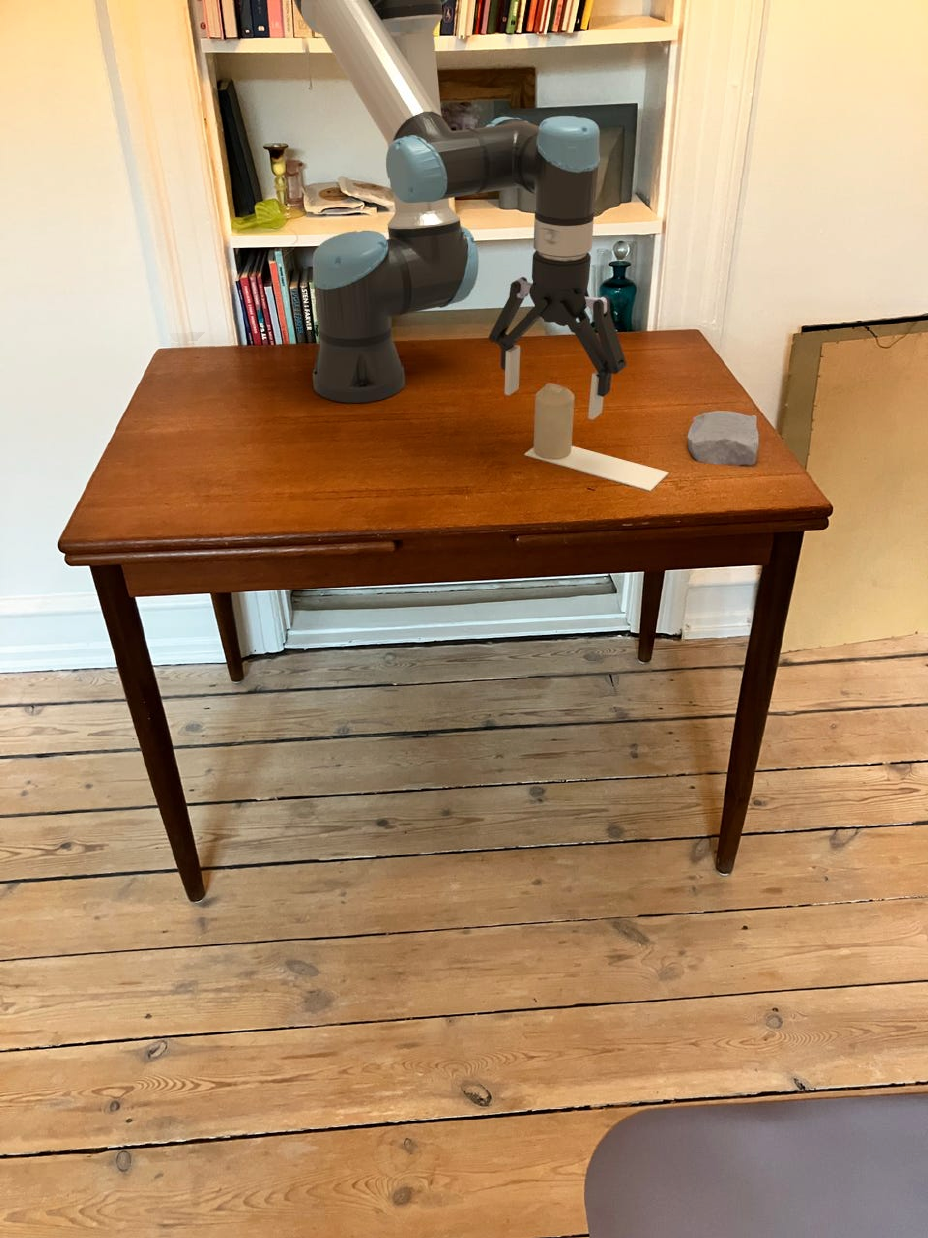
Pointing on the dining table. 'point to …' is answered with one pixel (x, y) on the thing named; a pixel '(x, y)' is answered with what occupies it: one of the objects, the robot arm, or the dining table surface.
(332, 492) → the dining table surface
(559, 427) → the candle
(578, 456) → the test strip
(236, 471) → the dining table surface
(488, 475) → the dining table surface
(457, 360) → the dining table surface
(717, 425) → the stone block
